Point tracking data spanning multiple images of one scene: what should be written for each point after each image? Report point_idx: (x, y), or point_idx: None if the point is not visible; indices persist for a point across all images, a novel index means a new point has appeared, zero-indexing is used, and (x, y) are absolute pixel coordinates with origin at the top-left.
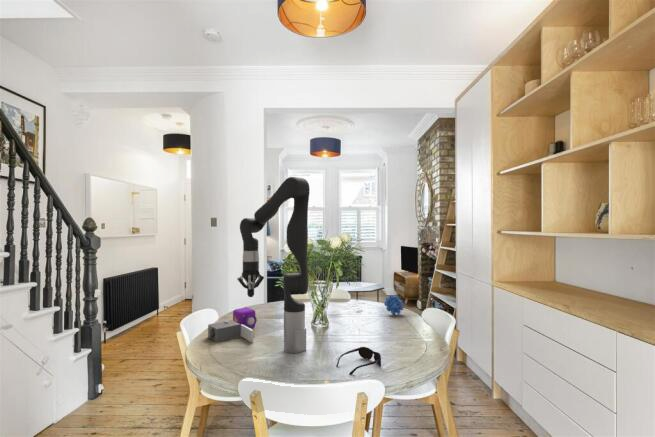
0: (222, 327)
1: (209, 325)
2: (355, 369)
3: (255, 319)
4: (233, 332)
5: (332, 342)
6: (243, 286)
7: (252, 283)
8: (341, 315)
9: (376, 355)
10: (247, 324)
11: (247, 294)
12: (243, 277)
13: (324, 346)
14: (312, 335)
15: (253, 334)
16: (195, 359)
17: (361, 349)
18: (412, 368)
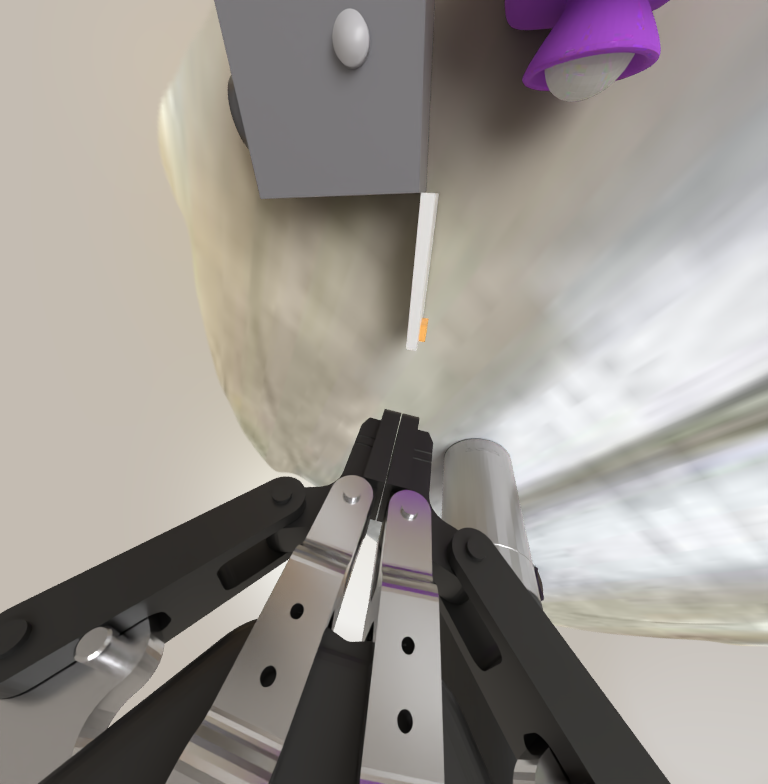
0: (295, 184)
1: (221, 23)
2: None
3: (643, 59)
4: (376, 194)
5: (606, 499)
6: (260, 500)
7: (365, 623)
8: None
9: None
10: (543, 72)
11: (361, 428)
12: (111, 738)
13: (555, 498)
14: (654, 425)
15: (419, 339)
16: (210, 329)
17: (540, 585)
18: None
